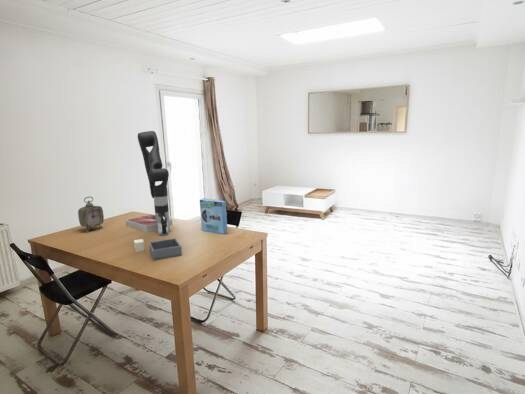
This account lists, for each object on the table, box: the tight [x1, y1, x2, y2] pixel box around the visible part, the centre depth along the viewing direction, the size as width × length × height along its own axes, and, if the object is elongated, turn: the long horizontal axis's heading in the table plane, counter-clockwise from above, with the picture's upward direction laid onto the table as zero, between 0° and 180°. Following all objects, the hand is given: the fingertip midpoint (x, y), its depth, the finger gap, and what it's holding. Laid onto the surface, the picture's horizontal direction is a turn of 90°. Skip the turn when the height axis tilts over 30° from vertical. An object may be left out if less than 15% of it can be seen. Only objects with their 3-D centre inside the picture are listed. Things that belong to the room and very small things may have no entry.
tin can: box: [158, 222, 170, 237], centre depth 185 cm, size 6×6×7 cm
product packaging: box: [125, 213, 173, 233], centre depth 244 cm, size 22×28×5 cm
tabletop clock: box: [77, 196, 105, 233], centre depth 233 cm, size 14×9×25 cm, turn 150°
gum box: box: [199, 197, 228, 235], centre depth 225 cm, size 20×5×23 cm, turn 60°
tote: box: [148, 237, 183, 261], centre depth 187 cm, size 16×16×6 cm
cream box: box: [133, 238, 145, 253], centre depth 194 cm, size 6×5×6 cm
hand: (163, 232), depth 185 cm, fingers closed on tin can, 5 cm apart
